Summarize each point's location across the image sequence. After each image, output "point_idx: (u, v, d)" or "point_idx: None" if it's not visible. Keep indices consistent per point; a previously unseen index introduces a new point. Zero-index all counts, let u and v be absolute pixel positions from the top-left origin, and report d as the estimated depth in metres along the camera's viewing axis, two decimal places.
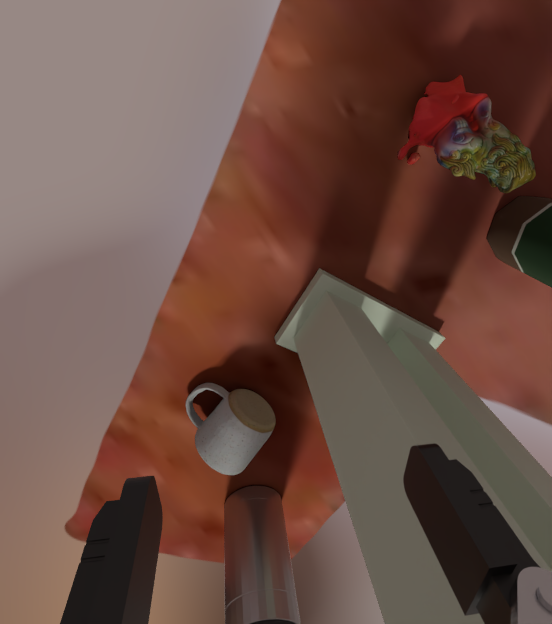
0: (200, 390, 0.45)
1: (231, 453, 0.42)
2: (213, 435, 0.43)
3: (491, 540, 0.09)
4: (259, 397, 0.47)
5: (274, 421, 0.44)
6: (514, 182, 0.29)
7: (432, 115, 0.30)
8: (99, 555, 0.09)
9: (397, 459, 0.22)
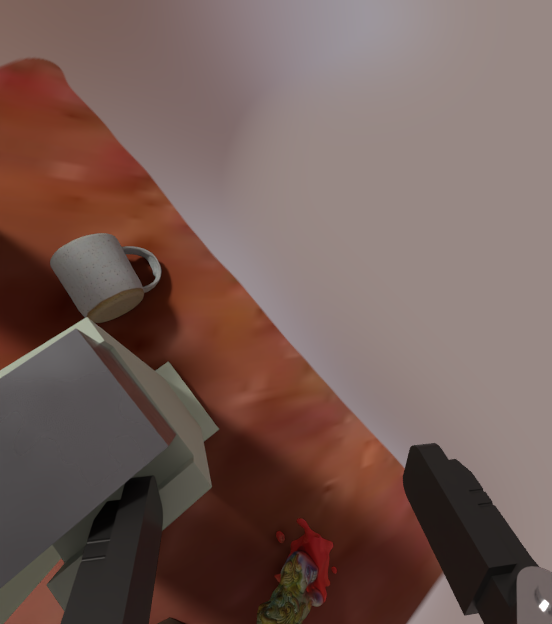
0: (158, 272, 0.46)
1: (96, 262, 0.38)
2: (120, 257, 0.41)
3: (490, 540, 0.09)
4: (114, 317, 0.43)
5: (92, 319, 0.40)
6: (272, 622, 0.32)
7: (321, 552, 0.39)
8: (100, 554, 0.09)
9: (187, 425, 0.22)
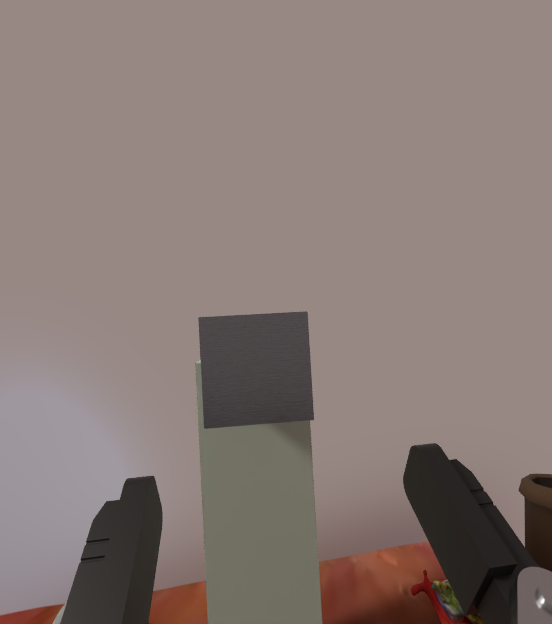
0: None
1: None
2: None
3: (491, 540, 0.09)
4: None
5: None
6: None
7: None
8: (99, 555, 0.09)
9: None
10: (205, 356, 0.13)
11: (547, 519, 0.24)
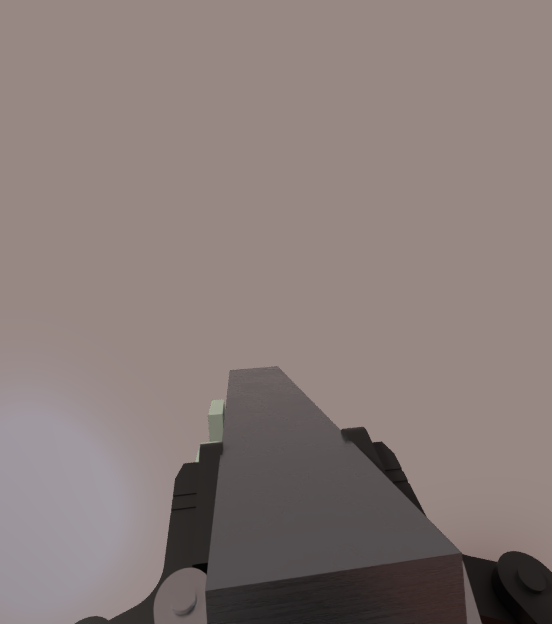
0: None
1: None
2: None
3: None
4: None
5: None
6: None
7: None
8: (187, 507, 0.10)
9: None
10: None
11: None
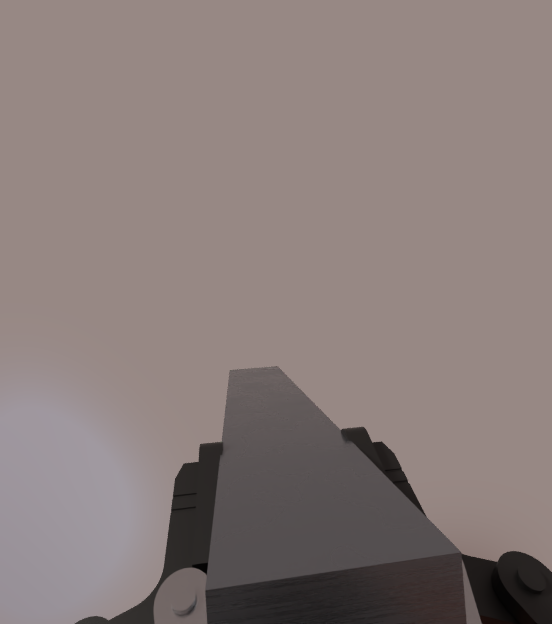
0: None
1: None
2: None
3: None
4: None
5: None
6: None
7: None
8: (187, 507, 0.10)
9: None
10: None
11: None
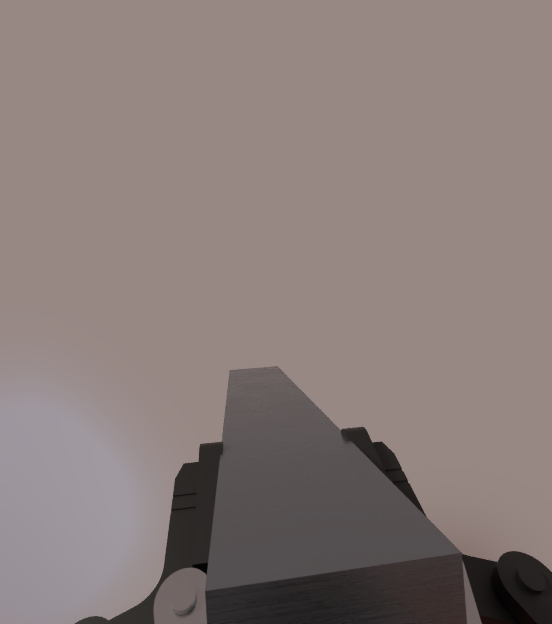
0: None
1: None
2: None
3: None
4: None
5: None
6: None
7: None
8: (187, 507, 0.10)
9: None
10: None
11: None
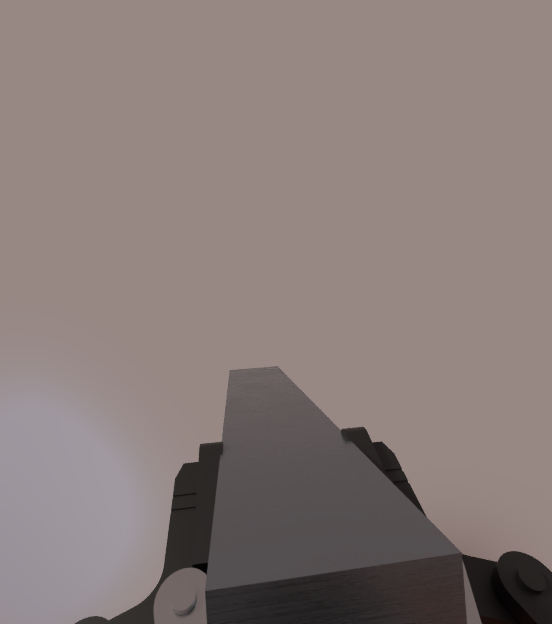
0: None
1: None
2: None
3: None
4: None
5: None
6: None
7: None
8: (187, 507, 0.10)
9: None
10: None
11: None
